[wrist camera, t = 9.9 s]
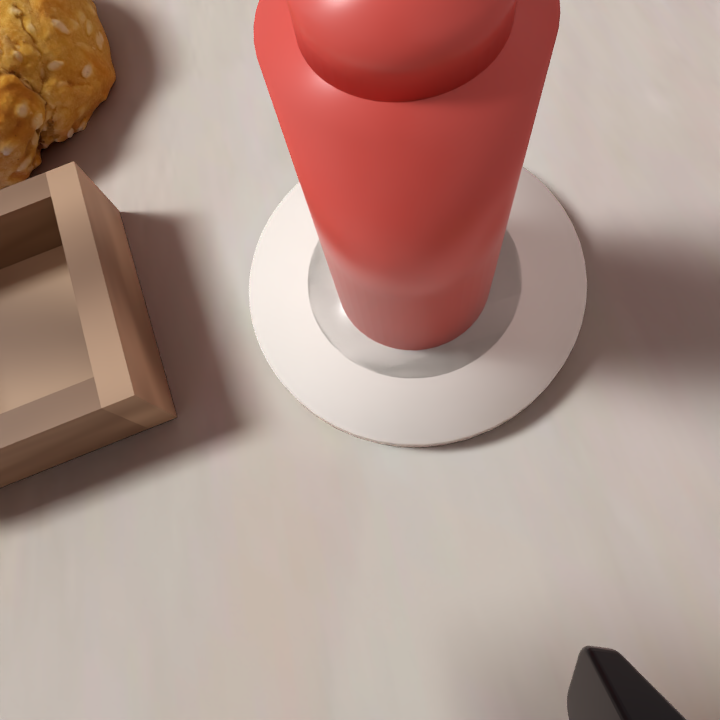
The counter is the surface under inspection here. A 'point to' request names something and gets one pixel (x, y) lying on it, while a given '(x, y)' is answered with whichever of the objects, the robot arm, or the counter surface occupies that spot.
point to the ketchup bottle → (408, 145)
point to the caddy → (70, 327)
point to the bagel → (47, 77)
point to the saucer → (429, 366)
